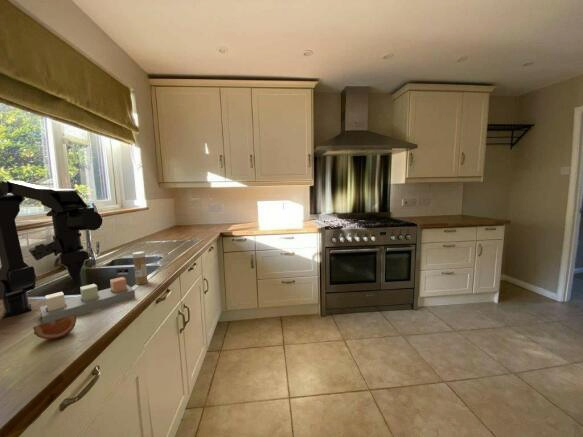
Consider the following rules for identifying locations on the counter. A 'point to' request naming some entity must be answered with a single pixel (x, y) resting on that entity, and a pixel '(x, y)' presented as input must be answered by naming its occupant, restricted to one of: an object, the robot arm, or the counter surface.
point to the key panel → (86, 304)
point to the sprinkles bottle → (140, 267)
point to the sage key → (89, 292)
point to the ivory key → (55, 301)
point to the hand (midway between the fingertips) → (74, 279)
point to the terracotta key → (118, 284)
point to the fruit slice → (56, 328)
